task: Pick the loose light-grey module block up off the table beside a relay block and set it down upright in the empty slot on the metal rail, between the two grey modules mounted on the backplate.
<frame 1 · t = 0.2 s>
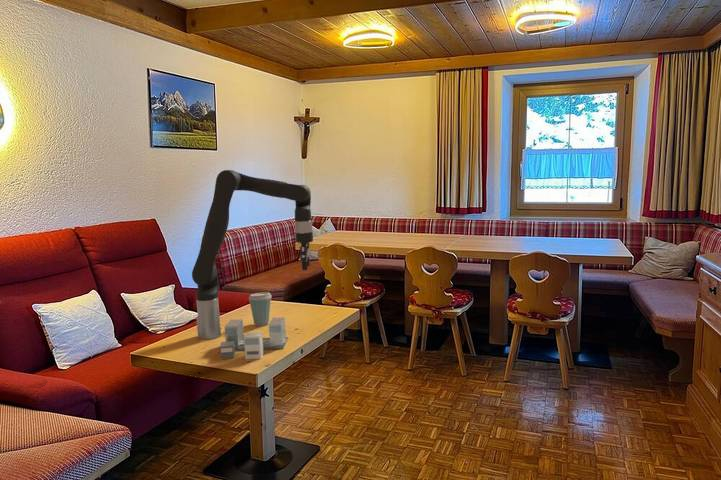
hand: (306, 268, 235), 29 cm above the table, fingers open, 8 cm apart
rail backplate: (257, 345, 224), on the table
disposable coffee cup: (262, 324, 255), on the table
relay block: (228, 356, 213), on the table
module: (254, 356, 210), on the table
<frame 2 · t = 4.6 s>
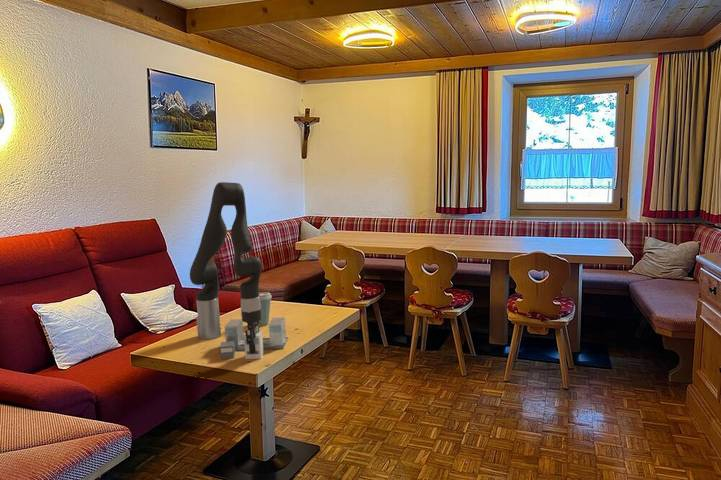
hand: (254, 350, 210), 2 cm above the table, fingers closed on module, 5 cm apart
module: (254, 356, 210), on the table, touching gripper
everything else where it was.
when the fingers open (6 cm above the table, at t = 10.7 s): module drops 2 cm, resting on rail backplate.
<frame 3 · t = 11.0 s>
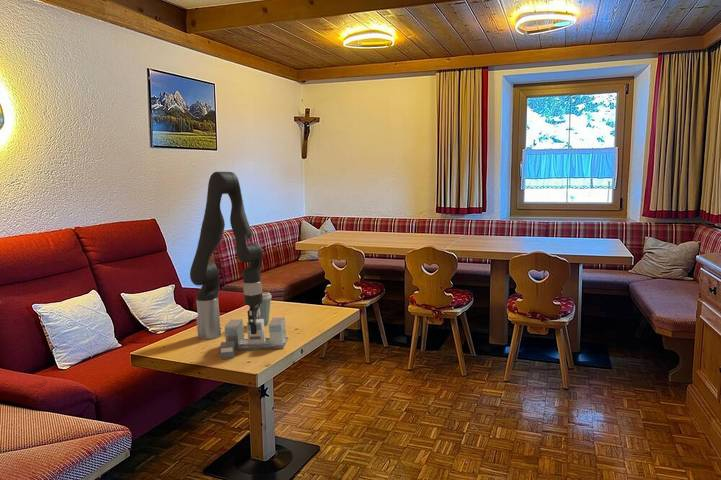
hand: (255, 330, 223), 6 cm above the table, fingers open, 7 cm apart
module: (256, 341, 224), point 1 cm above the table, touching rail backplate
everything else where it was.
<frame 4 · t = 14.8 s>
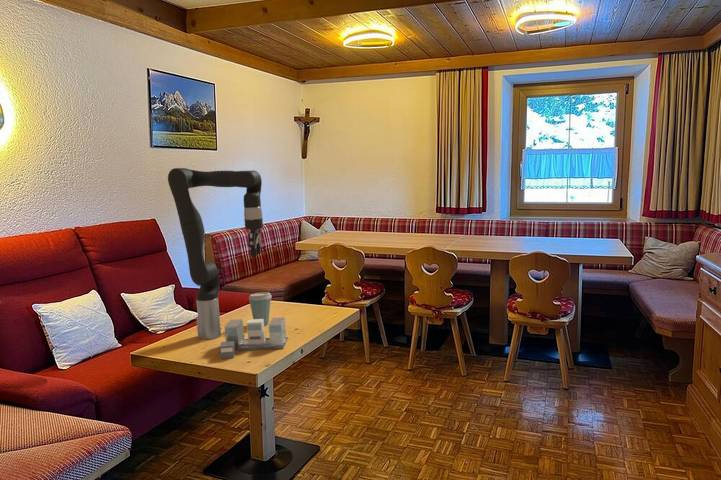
hand: (256, 255, 230), 36 cm above the table, fingers open, 8 cm apart
nothing on the table moved.
at the end: module inside the target area (0.2 cm from its centre), point 1.4 cm above the table; module tilted 0°; the gripper is holding nothing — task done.
